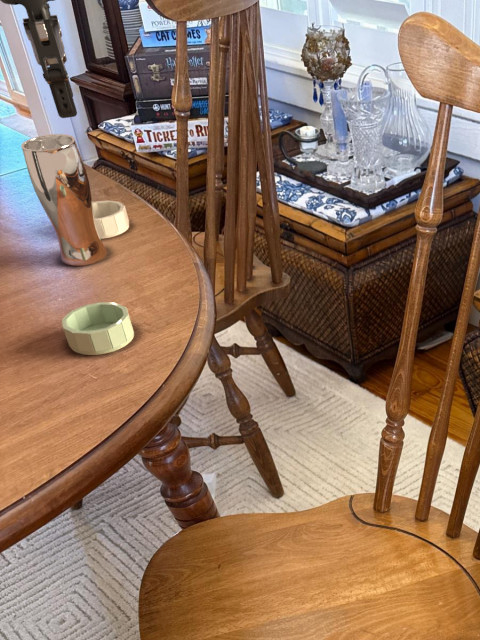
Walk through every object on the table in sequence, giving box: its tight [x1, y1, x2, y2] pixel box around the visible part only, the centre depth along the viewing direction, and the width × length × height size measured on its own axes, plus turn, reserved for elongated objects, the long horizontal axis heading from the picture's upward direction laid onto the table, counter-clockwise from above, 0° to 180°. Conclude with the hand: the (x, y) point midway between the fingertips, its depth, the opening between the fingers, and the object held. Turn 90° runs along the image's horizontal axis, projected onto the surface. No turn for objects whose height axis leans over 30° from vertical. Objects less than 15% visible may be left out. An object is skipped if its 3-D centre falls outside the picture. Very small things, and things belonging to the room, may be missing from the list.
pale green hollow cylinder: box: [61, 301, 135, 356], centre depth 91 cm, size 7×7×3 cm
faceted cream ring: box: [92, 200, 130, 240], centre depth 115 cm, size 7×7×3 cm
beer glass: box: [20, 133, 107, 267], centre depth 104 cm, size 7×7×15 cm
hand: (67, 107), depth 99 cm, fingers open, 8 cm apart
